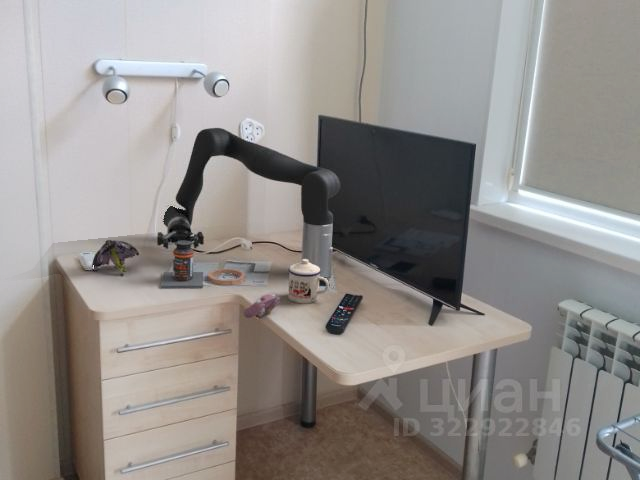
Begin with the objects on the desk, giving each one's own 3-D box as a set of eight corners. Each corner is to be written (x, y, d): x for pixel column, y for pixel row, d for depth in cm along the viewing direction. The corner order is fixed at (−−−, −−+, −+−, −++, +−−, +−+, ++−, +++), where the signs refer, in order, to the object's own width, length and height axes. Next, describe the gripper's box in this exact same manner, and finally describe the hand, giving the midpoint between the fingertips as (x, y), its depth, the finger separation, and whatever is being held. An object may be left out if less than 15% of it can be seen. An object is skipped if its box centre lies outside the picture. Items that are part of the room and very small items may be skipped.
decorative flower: (129, 232, 217) (132, 232, 203) (142, 267, 218) (146, 268, 204) (83, 248, 212) (83, 248, 198) (96, 283, 214) (97, 286, 199)
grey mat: (203, 274, 212) (203, 271, 211) (202, 288, 200) (202, 285, 200) (163, 274, 210) (163, 271, 210) (160, 288, 198) (160, 285, 198)
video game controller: (252, 326, 180) (262, 307, 176) (241, 315, 182) (250, 295, 178) (276, 315, 188) (286, 297, 184) (264, 304, 189) (274, 286, 186)
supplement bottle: (171, 281, 202) (171, 244, 199) (174, 274, 208) (174, 238, 205) (191, 282, 202) (191, 245, 199) (194, 275, 208) (194, 239, 205)
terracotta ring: (243, 272, 215) (243, 268, 215) (245, 285, 205) (245, 280, 204) (208, 272, 213) (208, 268, 213) (207, 285, 203) (207, 280, 202)
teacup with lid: (282, 300, 194) (284, 261, 191) (294, 290, 202) (296, 253, 199) (322, 308, 190) (324, 268, 187) (332, 297, 198) (335, 259, 195)
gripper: (156, 219, 221) (157, 234, 206) (201, 219, 224) (205, 233, 209) (157, 241, 223) (157, 257, 208) (201, 241, 227) (204, 256, 212)
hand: (181, 245), depth 209 cm, fingers open, 8 cm apart
